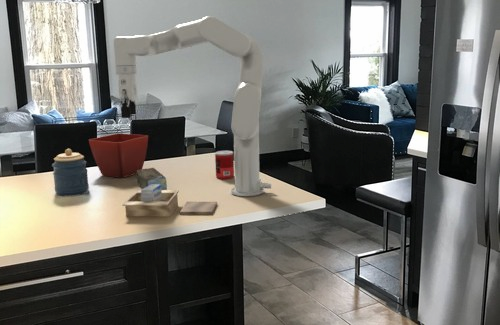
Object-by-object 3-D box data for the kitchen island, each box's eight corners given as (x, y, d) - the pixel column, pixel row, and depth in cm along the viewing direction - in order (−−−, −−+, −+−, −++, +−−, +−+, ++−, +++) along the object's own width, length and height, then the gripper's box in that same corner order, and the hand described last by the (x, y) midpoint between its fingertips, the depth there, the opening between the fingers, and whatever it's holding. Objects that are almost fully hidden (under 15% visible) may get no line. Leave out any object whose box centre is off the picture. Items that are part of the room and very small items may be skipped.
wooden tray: (179, 203, 197) (179, 190, 195) (168, 219, 179) (167, 204, 178) (138, 203, 198) (137, 190, 197) (123, 218, 180) (122, 204, 179)
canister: (95, 191, 215) (91, 148, 212) (65, 198, 206) (61, 153, 202) (78, 186, 224) (74, 144, 220) (49, 193, 215) (44, 149, 211)
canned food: (237, 176, 236) (236, 151, 233) (227, 180, 229) (226, 154, 227) (223, 174, 240) (222, 149, 237) (212, 178, 233) (211, 153, 231)
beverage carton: (147, 194, 210) (146, 178, 209) (136, 183, 227) (135, 168, 226) (167, 191, 213) (166, 175, 212) (155, 181, 231) (154, 166, 229)
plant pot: (90, 176, 241) (87, 139, 238) (121, 167, 257) (118, 132, 254) (121, 181, 232) (118, 142, 228) (151, 171, 247) (149, 135, 244)
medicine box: (154, 214, 184) (153, 190, 182) (142, 214, 185) (140, 189, 183) (162, 207, 192) (161, 184, 190) (150, 207, 193) (149, 183, 191)
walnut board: (217, 204, 194) (217, 201, 194) (212, 214, 183) (211, 211, 182) (187, 204, 195) (186, 201, 195) (179, 214, 184) (179, 211, 183)
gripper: (130, 71, 193) (134, 119, 196) (140, 69, 210) (143, 113, 213) (109, 71, 193) (113, 119, 197) (121, 69, 210) (124, 113, 213)
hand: (129, 116), depth 205 cm, fingers open, 9 cm apart
